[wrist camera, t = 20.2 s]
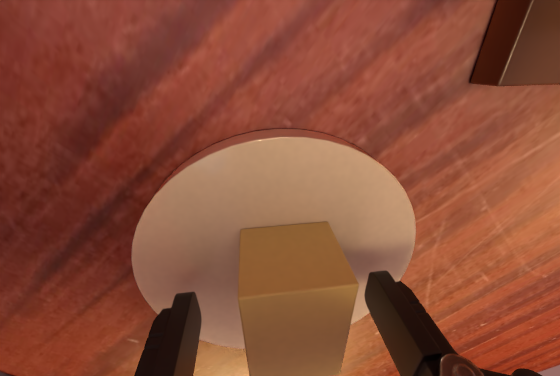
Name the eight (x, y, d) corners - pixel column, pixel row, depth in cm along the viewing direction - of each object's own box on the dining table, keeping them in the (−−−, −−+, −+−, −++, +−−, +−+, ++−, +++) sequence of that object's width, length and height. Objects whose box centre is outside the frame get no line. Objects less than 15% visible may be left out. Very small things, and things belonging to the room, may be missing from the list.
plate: (176, 343, 16) (171, 363, 15) (94, 136, 9) (74, 147, 8) (377, 316, 17) (385, 333, 16) (435, 121, 10) (456, 127, 9)
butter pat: (250, 313, 13) (251, 388, 10) (239, 228, 10) (236, 299, 7) (319, 304, 14) (340, 375, 11) (328, 220, 11) (360, 284, 8)
